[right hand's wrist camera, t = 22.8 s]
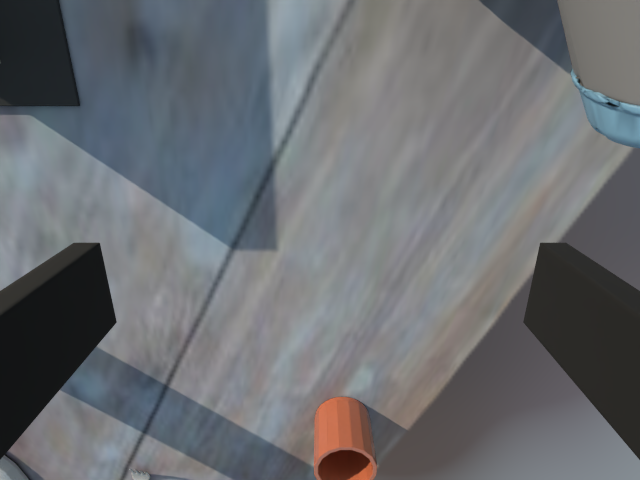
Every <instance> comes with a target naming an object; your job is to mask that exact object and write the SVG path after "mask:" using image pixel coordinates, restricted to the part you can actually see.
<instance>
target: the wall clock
mask: <svg viewBox="0 0 640 480" xmlns="http://www.w3.org/2000/svg"><path fill="white" fill-rule="evenodd" d="M0 480H29V479H28V478H27V477H26V475H25V474H24V473H23V472H22V471H21V469H20V468H19V467H18V466H17V465H16V464H15V463H14V462H13V461H11V460H10V459H9V458H8V457H6V456H5V455H4V456H3V457H2V458H1V459H0Z"/></svg>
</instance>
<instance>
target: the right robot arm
mask: <svg viewBox="0 0 640 480" xmlns="http://www.w3.org/2000/svg"><path fill="white" fill-rule="evenodd" d="M557 2H558V6H559V11H560V15H561V19H562V24H563V28H564V33H565V37H566V41H567V46H568V50H569V55H570V59H571V63H572V70H571V77H572V81H573V83H574V85H575V86H576V87H577V88H578V89H579V91H580V95H581V98H582V101H583V105H584V108H585V111H586V115H587V118H588V120H589V122H590V124H591V126H592V127H593V128H594V129H595V130H596V131H597V132H599V133H601V134H603V135H604V136H606V137H607V138H608V139H609V140H611V141H614V142H616V143H619V144H623V145H626V146H630V147H635V148H640V0H557ZM524 323H525V325H526V326H527V327H528V328H529V329H530V331H531V332H532V333H533V334H534V335H535V336H536V338H537V339H538V340H539V341H540V342H541V344H542V345H543V346H544V347H545V348H546V349H547V351H548V352H549V353H550V354H551V355H552V357H553V358H554V359H555V360H556V361H557V363H558V364H559V365H560V366H561V367H562V368H563V370H564V371H565V372H566V373H567V374H568V376H569V377H570V378H571V379H572V380H573V381H574V383H575V384H576V385H577V386H578V387H579V389H580V390H581V391H582V392H583V393H584V394H585V396H586V397H587V398H588V399H589V400H590V402H591V403H592V404H593V405H594V406H595V407H596V409H597V410H598V411H599V412H600V413H601V415H602V416H603V417H604V418H605V419H606V420H607V422H608V423H609V424H610V425H611V426H612V428H613V429H614V430H615V431H616V432H617V433H618V435H619V436H620V437H621V438H622V439H623V441H624V442H625V443H626V444H627V445H628V446H629V448H630V449H631V450H632V451H633V452H634V454H635V455H636V456H637V457H638V458H639V459H640V291H639V290H637V289H636V288H634V287H633V286H631V285H629V284H628V283H626V282H625V281H623V280H622V279H620V278H619V277H617V276H616V275H614V274H613V273H611V272H610V271H608V270H607V269H605V268H604V267H602V266H601V265H599V264H598V263H596V262H594V261H593V260H591V259H590V258H588V257H587V256H585V255H584V254H582V253H581V252H579V251H578V250H576V249H575V248H573V247H572V246H570V245H568V244H567V243H540V247H539V251H538V256H537V261H536V266H535V270H534V275H533V280H532V285H531V289H530V294H529V299H528V303H527V308H526V313H525V317H524ZM115 324H116V317H115V313H114V308H113V303H112V299H111V294H110V289H109V284H108V280H107V275H106V270H105V266H104V261H103V256H102V251H101V247H100V243H73V244H71V245H70V246H68V247H67V248H65V249H64V250H62V251H61V252H59V253H58V254H56V255H55V256H53V257H52V258H50V259H49V260H47V261H46V262H44V263H42V264H41V265H39V266H38V267H36V268H35V269H33V270H32V271H30V272H29V273H27V274H26V275H24V276H23V277H21V278H20V279H18V280H17V281H15V282H13V283H12V284H10V285H9V286H7V287H6V288H4V289H3V290H1V291H0V459H1V458H2V457H3V456H4V455H5V454H6V452H7V451H8V450H9V449H10V448H11V446H12V445H13V444H14V443H15V442H16V441H17V439H18V438H19V437H20V436H21V435H22V433H23V432H24V431H25V430H26V429H27V428H28V426H29V425H30V424H31V423H32V422H33V420H34V419H35V418H36V417H37V416H38V415H39V413H40V412H41V411H42V410H43V409H44V407H45V406H46V405H47V404H48V403H49V402H50V400H51V399H52V398H53V397H54V396H55V394H56V393H57V392H58V391H59V390H60V389H61V387H62V386H63V385H64V384H65V383H66V381H67V380H68V379H69V378H70V377H71V376H72V374H73V373H74V372H75V371H76V370H77V368H78V367H79V366H80V365H81V364H82V363H83V361H84V360H85V359H86V358H87V357H88V355H89V354H90V353H91V352H92V351H93V350H94V348H95V347H96V346H97V345H98V344H99V342H100V341H101V340H102V339H103V338H104V337H105V335H106V334H107V333H108V332H109V331H110V329H111V328H112V327H113V326H114V325H115Z"/></svg>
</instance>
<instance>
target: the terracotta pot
mask: <svg viewBox="0 0 640 480" xmlns="http://www.w3.org/2000/svg"><path fill="white" fill-rule="evenodd" d="M376 473H377V462H376V456H375V449H374V442H373V435H372V429H371V422H370V417H369V413H368V410H367V409H366V407H365V406H364V405H363V404H362V403H361V402H359V401H358V400H356V399H353V398H349V397H336V398H332V399H329V400H327V401H326V402H324V403H323V404H322V405H320V407H319V408H318V409H317V411H316V414H315V436H314V475H315V477H316V479H317V480H373V479H374V478H375V476H376Z"/></svg>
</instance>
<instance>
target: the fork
mask: <svg viewBox="0 0 640 480" xmlns="http://www.w3.org/2000/svg"><path fill="white" fill-rule="evenodd" d="M129 470H130V471H131V472H132V477H133V479H134V480H149V479H150V475H149V473H148V472H146V471H145V473H146V474H145V473H143V472H142V471H140V472H141V473H139V472H138V471H137V470H135V472H134V471H133V470H132V469H129Z"/></svg>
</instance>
